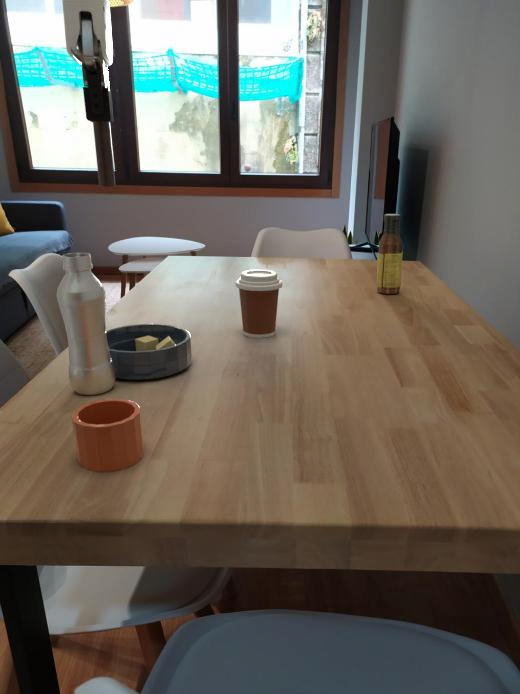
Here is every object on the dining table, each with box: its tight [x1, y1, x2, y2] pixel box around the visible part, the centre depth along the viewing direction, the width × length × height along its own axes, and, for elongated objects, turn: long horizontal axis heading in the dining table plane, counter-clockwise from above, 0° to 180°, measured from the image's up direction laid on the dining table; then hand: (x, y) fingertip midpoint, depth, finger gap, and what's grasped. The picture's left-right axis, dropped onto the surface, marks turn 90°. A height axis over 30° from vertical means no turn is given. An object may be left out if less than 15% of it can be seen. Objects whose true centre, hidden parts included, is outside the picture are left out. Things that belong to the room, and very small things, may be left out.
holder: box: [71, 398, 145, 473], centre depth 62 cm, size 7×7×6 cm
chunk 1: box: [135, 336, 159, 351], centre depth 94 cm, size 3×3×3 cm
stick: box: [92, 76, 116, 188], centre depth 75 cm, size 2×2×14 cm
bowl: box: [106, 323, 193, 381], centre depth 90 cm, size 15×15×5 cm
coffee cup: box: [235, 269, 283, 339], centre depth 106 cm, size 9×9×12 cm
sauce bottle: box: [376, 213, 404, 295], centre depth 140 cm, size 6×6×20 cm
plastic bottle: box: [56, 252, 116, 396], centre depth 77 cm, size 6×7×20 cm
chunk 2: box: [156, 336, 176, 349], centre depth 91 cm, size 3×3×3 cm
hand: (100, 120), depth 74 cm, fingers closed on stick, 2 cm apart
